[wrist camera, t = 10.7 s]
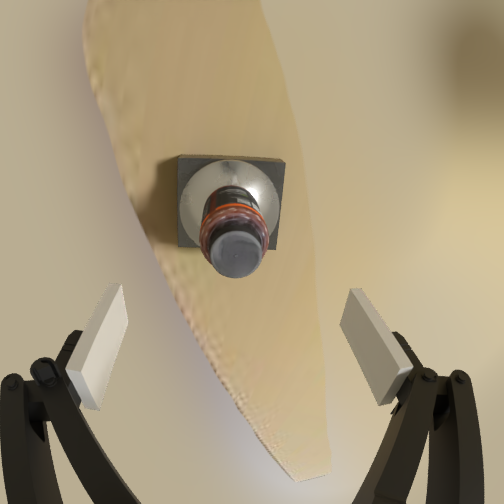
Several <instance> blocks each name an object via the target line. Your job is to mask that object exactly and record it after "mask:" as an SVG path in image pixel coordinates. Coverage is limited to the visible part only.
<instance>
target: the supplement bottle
mask: <svg viewBox="0 0 504 504" xmlns="http://www.w3.org/2000/svg"><path fill="white" fill-rule="evenodd" d="M199 243H200V248H201V251H202V253H203V255H204V257H205V258H206V259H207V261H208V262H209V263H210V264H212V265H213V267H214V268H215V269H216V271H218V272H219V273H220V274H221V275H223V276H226V277H230V278H242V277H245V276H248V275H250V274H251V273H253V272H254V271H255V270H256V269H257V268H258V266H259V265H260V263H261V260H262V258H263V257H264V255H265V253H266V251H267V248H268V244H269V233H268V229H267V226H266V223H265V221H264V218H263V216H262V213H261V211H260V209H259V206H258V204H257V201H256V200H255V198H254V196H253V195H252V194H251V193H250V192H249V191H248V190H246V189H244V188H242V187H239V186H235V185H227V186H223V187H220V188H218V189H217V190H215V191H214V192H212V193H211V194H210V196H209V197H208V198H207V200H206V203H205V205H204V209H203V215H202V221H201V227H200V235H199Z"/></svg>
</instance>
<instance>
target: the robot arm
mask: <svg viewBox="0 0 504 504" xmlns="http://www.w3.org/2000/svg"><path fill="white" fill-rule="evenodd" d="M127 325H128V318H127V312H126V308H125V302H124V296H123V290H122V285H121V284H112V283H109V285H108V287H107V288H106V290H105V292H104V293H103V295H102V297H101V299H100V301H99V302H98V305H97V306H96V308H95V310H94V312H93V314H92V316H91V317H90V319H89V321H88V323H87V325H86V327H85V329H84V331H79V330H74V331H73V332H72V333H71V334H70V335H69V336H68V337H67V339H66V341H65V343H64V345H63V347H62V349H61V351H60V353H59V355H58V356H57V358H56V360H55V361H54V360H53V359H51V358H47V357H44V358H39V359H38V360H36V361H35V362H34V363H33V364H32V365H31V368H30V373H31V375H32V377H33V379H34V380H30V381H24V380H23V378H22V377H21V376H20V375H18V374H16V373H14V374H13V373H12V374H9V375H7V376H6V377H4V379H3V380H2V382H1V390H0V441H1V457H2V467H3V476H4V482H5V489H6V495H7V501H8V504H63V501H62V498H61V494H60V490H59V486H58V483H57V478H56V474H55V470H54V465H53V460H52V456H51V450H50V445H49V438H48V431H47V424H46V421H51V422H52V425H53V427H54V430H55V432H56V434H57V436H58V439H59V441H60V443H61V445H62V447H63V449H64V451H65V453H66V455H67V457H68V459H69V461H70V463H71V465H72V467H73V469H74V470H75V472H76V474H77V476H78V478H79V479H80V481H81V483H82V485H83V486H84V488H85V490H86V491H87V493H88V495H89V496H90V498H91V499H92V501H93V502H94V504H141V503H140V501H139V500H138V499H137V498H136V496H135V495H134V494H133V493H132V491H131V490H130V489H129V487H128V486H127V484H126V483H125V482H124V480H123V479H122V478H121V476H120V475H119V473H118V472H117V470H116V469H115V467H114V466H113V464H112V463H111V461H110V460H109V458H108V457H107V455H106V454H105V452H104V450H103V449H102V447H101V446H100V444H99V442H98V441H97V439H96V438H95V436H94V434H93V432H92V430H91V429H90V427H89V425H88V423H87V421H86V420H85V418H84V416H83V414H82V412H81V410H80V409H79V406H80V403H81V401H82V403H83V405H84V407H85V408H88V409H93V410H98V411H99V410H100V408H101V404H102V401H103V397H104V394H105V391H106V387H107V384H108V381H109V378H110V375H111V372H112V368H113V365H114V362H115V359H116V357H117V354H118V350H119V348H120V345H121V342H122V339H123V336H124V334H125V331H126V328H127ZM340 326H341V328H342V331H343V333H344V334H345V336H346V339H347V341H348V343H349V345H350V347H351V349H352V351H353V353H354V355H355V357H356V359H357V361H358V363H359V365H360V367H361V369H362V371H363V374H364V376H365V378H366V380H367V382H368V384H369V386H370V388H371V391H372V393H373V395H374V397H375V399H376V401H377V404H378V406H381V405H386V404H390V403H392V401H393V399H394V398H395V397H397V399H398V401H399V402H398V403H397V405H396V406H395V408H394V409H393V411H392V412H391V414H393V415H392V418H391V421H390V423H389V426H388V428H387V431H386V433H385V436H384V438H383V441H382V443H381V445H380V448H379V450H378V452H377V455H376V457H375V459H374V461H373V463H372V465H371V468H370V470H369V472H368V474H367V476H366V478H365V480H364V482H363V484H362V486H361V488H360V490H359V492H358V493H357V495H356V497H355V499H354V501H353V502H352V504H406V499H407V497H408V494H409V491H410V489H411V486H412V483H413V480H414V478H415V475H416V472H417V469H418V466H419V463H420V460H421V456H422V453H423V449H424V446H425V443H426V439H427V435H428V431H429V467H428V484H427V496H426V504H484V469H483V455H482V445H481V436H480V428H479V422H478V416H477V409H476V403H475V398H474V393H473V388H472V383H471V379H470V377H469V376H468V374H466V373H465V372H464V371H462V370H454V371H453V372H452V373H451V375H450V376H449V377H445V376H438V375H437V373H436V372H435V371H434V370H432V369H430V368H426V367H425V368H424V367H423V365H422V364H421V362H420V361H419V359H418V358H417V356H416V355H415V353H414V352H413V350H411V347H410V346H409V345H408V343H407V342H406V340H405V339H404V337H403V336H402V335H400V334H399V333H398V332H391V331H390V329H389V328H388V326H387V325H386V323H385V322H384V320H383V319H382V317H381V316H380V314H379V313H378V312H377V310H376V309H375V307H374V306H373V304H372V303H371V301H370V300H369V298H368V297H367V296H366V294H365V293H364V291H363V290H362V289H361V288H359V289H358V288H356V289H350V291H349V295H348V298H347V302H346V305H345V309H344V312H343V316H342V319H341V322H340Z"/></svg>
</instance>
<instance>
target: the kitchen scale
mask: <svg viewBox="0 0 504 504" xmlns="http://www.w3.org/2000/svg"><path fill="white" fill-rule="evenodd" d="M284 173H285V162H284V161H283V160H281V159H274V158H260V157H244V156H223V155H181V156H179V157H178V180H177V213H178V247H200V243H199V235H200V227H201V221H202V215H203V209H204V205H205V203H206V200H207V198H208V197H209V196H210V194H211V193H212V192H214V191H215V190H217V189H218V188H220V187H223V186H227V185H235V186H239V187H242V188H244V189H246V190H248V191H249V192H250V193H251V194H252V195H253V196H254V198H255V200H256V201H257V204H258V206H259V209H260V211H261V213H262V216H263V218H264V221H265V223H266V226H267V229H268V233H269V244H268V248H267V250H276V245H277V236H278V228H279V219H280V210H281V201H282V192H283V183H284Z"/></svg>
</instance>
